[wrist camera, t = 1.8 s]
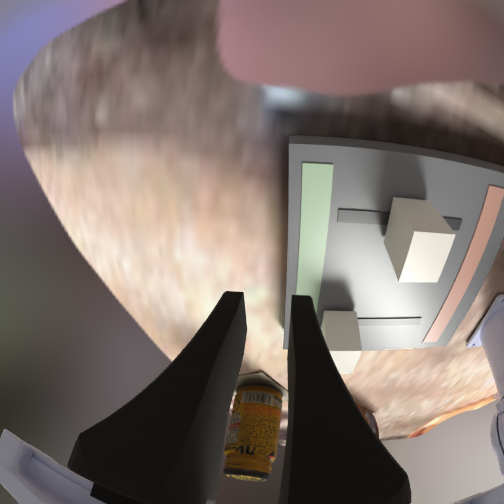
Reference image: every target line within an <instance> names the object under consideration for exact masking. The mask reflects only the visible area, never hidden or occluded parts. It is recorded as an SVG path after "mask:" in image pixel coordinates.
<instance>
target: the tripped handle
mask: <svg viewBox="0 0 504 504" xmlns="http://www.w3.org/2000/svg"><path fill="white" fill-rule="evenodd" d="M455 235H456V234H455V233H454V232H453V230H452V229H451V228H450V226H449V225H448V223H447V222H446V221H445V219H444V218H443V217H442V216H441V214H440V213H439V212H438V210H437V209H436V208H435V207H434V205H433V204H432V203H431V202H430V201H426V200H417V199H408V198H397V197H393V201H392V206H391V211H390V216H389V221H388V226H387V230H386V234H385V239H384V245H385V247H386V250H387V252H388V255H389V258H390V260H391V263H392V265H393V268H394V271H395V274H396V276H397V279H398V282H435V283H437V282H438V279H439V277H440V275H441V272H442V270H443V267H444V265H445V262H446V260H447V257H448V254H449V252H450V249H451V246H452V244H453V241H454V238H455Z"/></svg>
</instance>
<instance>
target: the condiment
mask: <svg viewBox="0 0 504 504" xmlns="http://www.w3.org/2000/svg"><path fill="white" fill-rule="evenodd" d="M267 383H268V384H267ZM236 384H238V385H236V386H235V390H234V393H233V394H234V395H235V399H234V404H233V410H232V416H231V420H230V426H229V430H228V434H227V439H226V445H225V450H224V451H225V455H226V456H227V459H226V461H225V469H224V471H223V473H224V474H225V475H226V476H228V477H232V478H236V479H242V480H249V481H267V480H269V478H270V473H271V469H272V466H271V463H272V462H273V461H274V460H275V458H276V453H277V445H278V437H279V428H280V419H281V410H282V402H285V401H288V391H287V390H285V389H284V388H282V387H281V386H279V385H277V383H276V382H274V381H273V380H272V379H271V378H269V377H267V376H266V375H265V374H264V373H262V372H261V373H253V374H247V375H241V376H238V378H237V382H236ZM237 386H238V387H237Z"/></svg>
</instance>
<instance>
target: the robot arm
mask: <svg viewBox="0 0 504 504" xmlns="http://www.w3.org/2000/svg"><path fill="white" fill-rule="evenodd" d="M246 334H247V323H246V313H245V303H244V292H232V291H226V292H224V293H223V295H222V297H221V298H220V300H219V301H218V303H217V305H216V306H215V308H214V309H213V311H212V312H211V314H210V315H209V317H208V318H207V319H206V321H205V322H204V324H203V325H202V326H201V328H200V329H199V330H198V332H197V333H196V334H195V336H194V337H193V338H192V339H191V341H190V342H189V343H188V344H187V345H186V347H185V348H184V349H183V350H182V351H181V353H180V354H179V355H178V356H177V357H176V358H175V359H174V361H173V362H172V363H171V364H170V365H169V366H168V367H167V368H166V369H165V370H164V371H163V372H162V373H161V374H160V375H159V376H158V377H157V378H156V379H155V380H154V381H153V382H152V383H150V384H149V385H148V386H147V387H146V388H145V389H144V390H143V391H142V392H140V393H139V394H138V395H137V396H136V397H134V398H133V399H132V400H130V401H129V402H128V403H127V404H125V405H124V406H122V407H121V408H120V409H118V410H117V411H116V412H114V413H113V414H111V415H110V416H109V417H107V418H105V419H104V420H102V421H100V422H99V423H97V424H95V425H94V426H92V427H90V428H89V429H87V430H85V431H83V432H82V433H80V434H79V436H78V438H77V440H76V442H75V445H74V448H73V451H72V453H71V456H70V459H69V462H68V465H67V466H68V468H69V469H70V470H71V471H70V470H68V469H66V468H64V467H63V466H61V465H60V464H58V463H56V462H55V460H54V459H52V458H51V457H49V456H47V455H46V454H44V453H43V452H41V451H40V450H38V449H36V448H35V447H33V446H31V445H29V444H27V443H25V442H24V441H22V440H21V439H19V438H18V437H17V436H15V435H14V434H12V433H11V432H9V431H8V430H6V429H4V431H3V433H2V435H1V438H0V483H1V484H2V485H3V487H4V488H5V489H7V491H8V492H9V493H10V494H11V495H12V496H13V497H14V498H15V499H16V500H17V501H18V502H19V504H214V503H215V502H216V501H217V491H218V482H219V474H220V466H221V458H222V451H223V444H224V436H225V431H226V425H227V418H228V413H229V409H230V404H231V401H232V397H233V393H234V390H235V386H236V382H237V378H238V375H239V371H240V367H241V363H242V359H243V355H244V349H245V341H246ZM466 346H467V348H471V347H478V346H483V348H484V350H485V353H486V356H487V359H488V361H489V364H490V367H491V370H492V373H493V376H494V380H495V383H496V386H497V390H498V393H499V397H500V402H498V403H497V404H496V407H497V412H496V413H495V414H494V416H493V420H492V423H491V432H490V433H491V442H492V446H493V449H494V452H495V454H496V455H497V457H498V461H499V465H500V470H501V472H502V475H503V476H504V294H502V295H498V296H497V297H496V298H495V300H494V302H493V303H492V305H491V307H490V309H489V310H488V312H487V313H486V315H485V317H484V318H483V320H482V321H481V323H480V324H479V326H478V327H477V329H476V330H475V332H474V333H473V335H472V336H471V338H470V339H469V341H468V342H467V344H466ZM287 361H288V426H287V436H286V446H285V455H284V464H283V471H282V479H281V487H280V494H279V501H278V504H410V503H411V489H410V483H409V479H408V475H407V473H406V472H405V471H404V470H403V468H402V467H401V466H400V465H399V464H398V463H397V461H396V460H395V459H394V458H393V457H392V455H391V454H390V453H389V452H388V450H387V449H386V448H385V446H384V445H383V444H382V442H381V441H380V440H379V438H378V437H377V436H376V434H375V433H374V431H373V430H372V428H371V427H370V425H369V424H368V422H367V421H366V419H365V418H364V416H363V415H362V413H361V412H360V410H359V408H358V407H357V405H356V403H355V402H354V400H353V398H352V396H351V395H350V393H349V391H348V389H347V387H346V385H345V383H344V382H343V380H342V378H341V376H340V374H339V371H338V369H337V367H336V365H335V363H334V361H333V358H332V356H331V354H330V351H329V349H328V346H327V344H326V341H325V339H324V336H323V334H322V331H321V328H320V325H319V322H318V319H317V316H316V312H315V308H314V304H313V298H312V297H311V296H310V295H292V299H291V314H290V327H289V342H288V356H287ZM72 471H73V472H72ZM74 472H75V473H76V474H75V473H74ZM77 474H78V475H77ZM79 475H80V476H79ZM81 476H82V477H81ZM83 477H84V478H83ZM85 478H86V479H85ZM87 479H88V480H87ZM89 480H90V481H89ZM91 481H92V482H91ZM93 482H94V483H93ZM452 504H504V484H502V485H499V486H497V487H495V488H493V489H490V490H488V491H485V492H483V493H478V494H476V495H473V496H470V497H467V498H465V499H463V500H460V501H457V502H454V503H452Z"/></svg>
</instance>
